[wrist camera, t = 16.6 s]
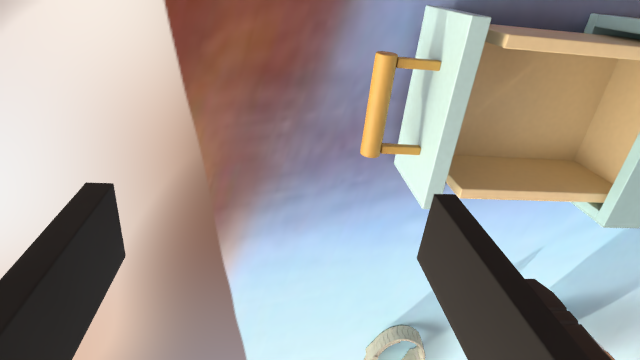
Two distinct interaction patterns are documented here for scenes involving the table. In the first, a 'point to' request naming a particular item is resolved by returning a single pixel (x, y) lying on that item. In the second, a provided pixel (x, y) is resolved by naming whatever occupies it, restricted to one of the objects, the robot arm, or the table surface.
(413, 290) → the table surface
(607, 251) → the table surface
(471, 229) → the robot arm
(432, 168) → the drawer
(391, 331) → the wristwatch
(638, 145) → the cabinet
